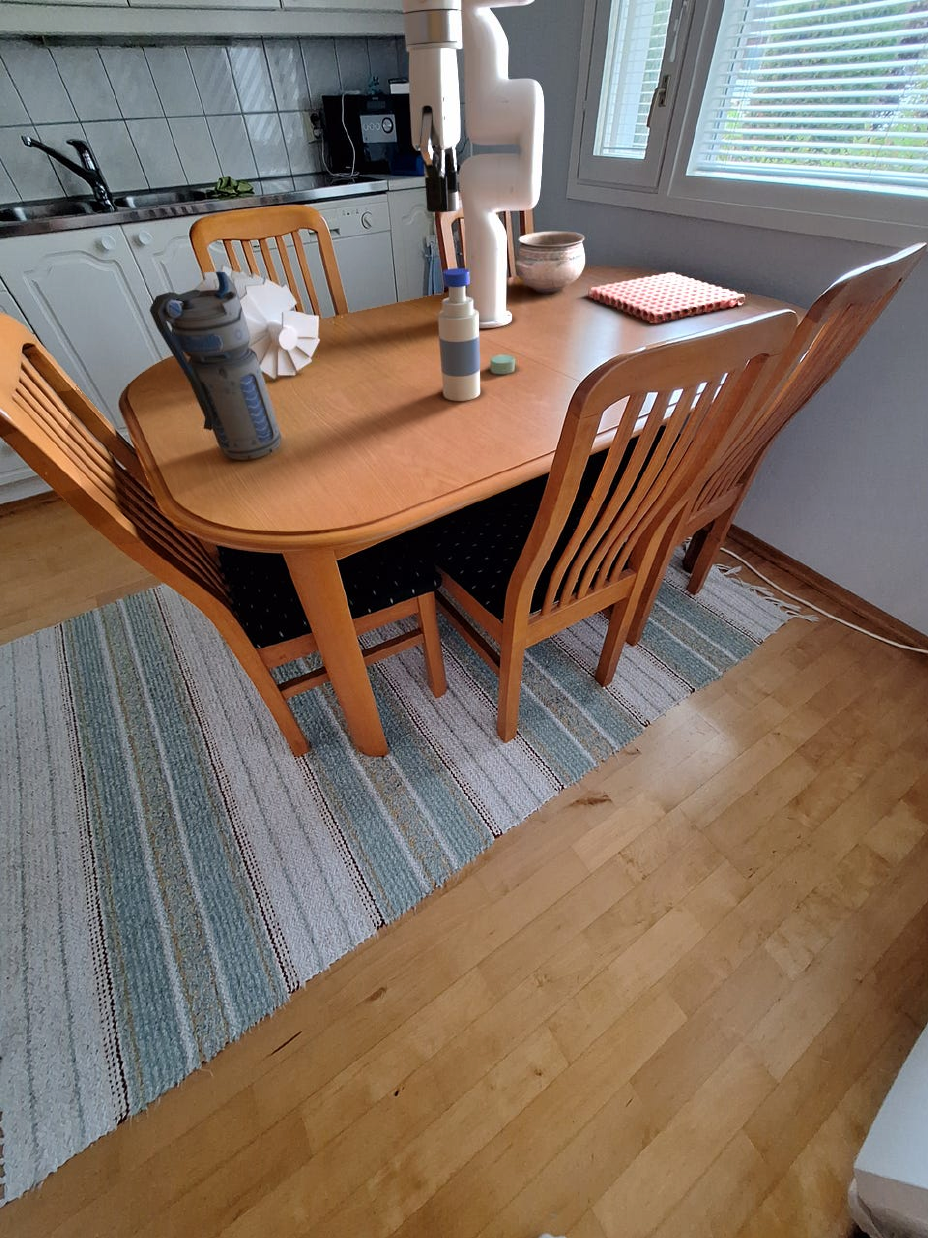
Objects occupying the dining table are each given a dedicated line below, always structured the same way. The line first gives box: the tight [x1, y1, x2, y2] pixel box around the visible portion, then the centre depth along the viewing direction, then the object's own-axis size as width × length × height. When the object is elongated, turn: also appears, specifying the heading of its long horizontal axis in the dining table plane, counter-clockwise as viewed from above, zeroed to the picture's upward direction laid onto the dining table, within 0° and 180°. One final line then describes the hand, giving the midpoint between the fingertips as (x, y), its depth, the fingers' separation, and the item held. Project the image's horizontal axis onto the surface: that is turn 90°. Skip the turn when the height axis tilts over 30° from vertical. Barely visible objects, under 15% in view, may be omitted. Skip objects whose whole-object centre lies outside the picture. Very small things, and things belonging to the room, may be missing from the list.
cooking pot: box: [514, 230, 586, 295], centre depth 145 cm, size 25×19×12 cm
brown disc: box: [425, 189, 460, 213], centre depth 82 cm, size 5×5×2 cm
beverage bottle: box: [149, 270, 282, 461], centre depth 81 cm, size 10×13×25 cm
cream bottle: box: [437, 267, 481, 402], centre depth 96 cm, size 7×7×20 cm
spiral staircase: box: [193, 264, 321, 380], centre depth 111 cm, size 18×18×25 cm
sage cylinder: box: [489, 353, 516, 375], centre depth 109 cm, size 5×5×2 cm
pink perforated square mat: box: [587, 272, 746, 324], centre depth 138 cm, size 28×28×2 cm
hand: (443, 205), depth 82 cm, fingers closed on brown disc, 5 cm apart
